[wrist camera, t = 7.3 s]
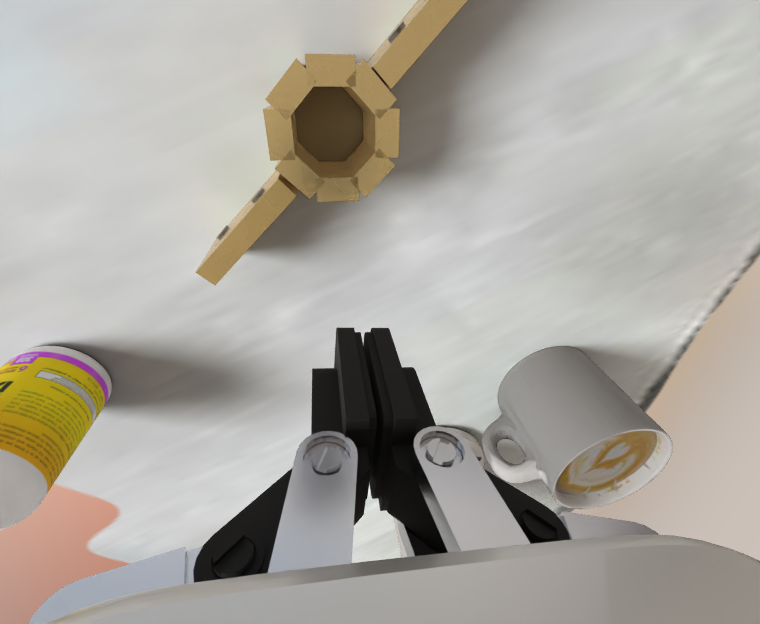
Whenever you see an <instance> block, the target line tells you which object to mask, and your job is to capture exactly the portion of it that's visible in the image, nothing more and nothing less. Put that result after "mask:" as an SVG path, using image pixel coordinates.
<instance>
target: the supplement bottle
mask: <svg viewBox="0 0 760 624" xmlns="http://www.w3.org/2000/svg"><path fill="white" fill-rule="evenodd" d="M111 391H112V384H111V380H110V377H109V375H108V373H107V372H106V370H105V369H104V368H103V367H102V366H101V365H100V364H99V363H98V362H97V361H96V360H94V359H93V358H91V357H89V356H88V355H86V354H83V353H81V352H79V351H76V350H73V349H69V348H65V347H59V346H39V347H33V348H30V349H27V350H24V351H22V352H20V353H18V354H17V355H15V356H14V357H13V358H11V359H10V360H9V361H8V362H7V363H6V364H4V365H3V366H2V367H1V368H0V530H2V529H5V528H8V527H11V526H13V525H15V524H17V523H19V522H21V521H22V520H24V519H25V518H27V517H28V516H29V515H30V514H32V513H33V512H34V511H35V510H36V509H37V508H38V506H39V505H40V504H41V502H42V501H43V499H44V497H45V496H46V494H47V493H48V491H49V490H50V488H51V487H52V485H53V483H54V482H55V480H56V479H57V477H58V476H59V474H60V473H61V471H62V470H63V468H64V467H65V465H66V463H67V462H68V460H69V459H70V457H71V456H72V454H73V453H74V451H75V450H76V448H77V447H78V445H79V444H80V442H81V441H82V439H83V438H84V436H85V435H86V433H87V432H88V430H89V429H90V427H91V426H92V424H93V423H94V421H95V420H96V418H97V417H98V415H99V413H100V412H101V410H102V409H103V407H104V406H105V404H106V402H107V401H108V399H109V397H110V395H111Z"/></svg>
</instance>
